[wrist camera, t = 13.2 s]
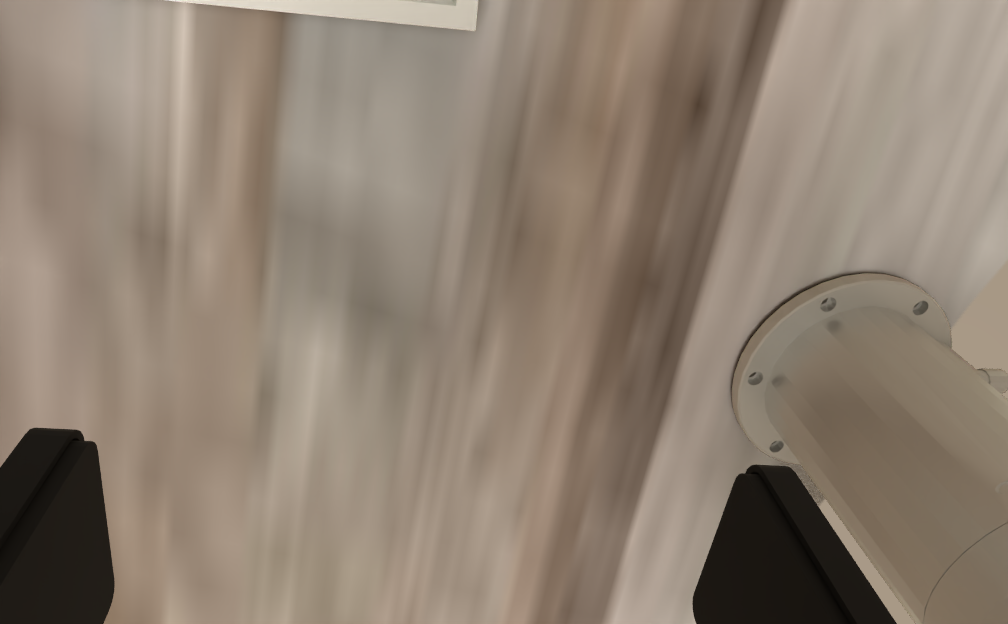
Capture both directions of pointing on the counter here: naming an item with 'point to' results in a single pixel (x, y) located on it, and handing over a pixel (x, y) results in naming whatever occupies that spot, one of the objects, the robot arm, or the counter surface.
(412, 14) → the white bin
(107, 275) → the counter surface
